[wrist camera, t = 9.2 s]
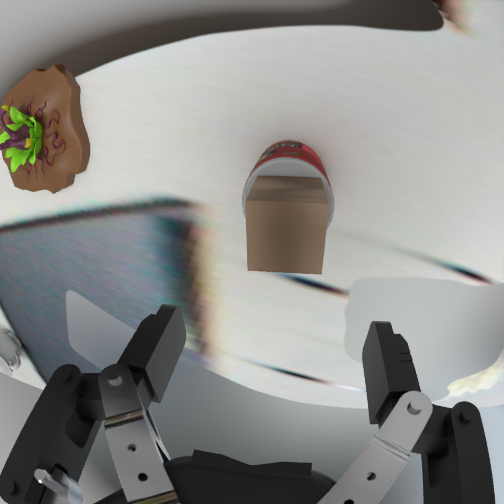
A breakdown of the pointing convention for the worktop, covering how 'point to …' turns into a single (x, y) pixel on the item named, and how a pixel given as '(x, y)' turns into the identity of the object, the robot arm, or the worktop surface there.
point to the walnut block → (286, 224)
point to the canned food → (290, 168)
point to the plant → (44, 131)
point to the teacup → (9, 353)
